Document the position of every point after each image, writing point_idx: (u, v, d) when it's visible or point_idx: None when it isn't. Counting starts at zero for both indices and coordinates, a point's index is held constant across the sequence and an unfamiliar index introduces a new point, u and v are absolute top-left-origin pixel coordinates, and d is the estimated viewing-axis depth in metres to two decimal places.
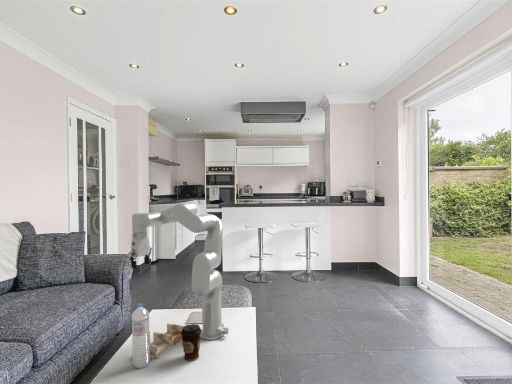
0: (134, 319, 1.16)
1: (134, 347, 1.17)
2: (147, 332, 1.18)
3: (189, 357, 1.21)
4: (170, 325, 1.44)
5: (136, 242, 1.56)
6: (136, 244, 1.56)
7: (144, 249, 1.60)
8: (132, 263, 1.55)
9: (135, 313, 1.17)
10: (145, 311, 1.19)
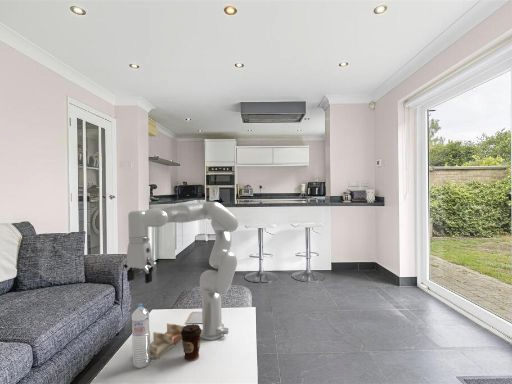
0: (134, 319, 1.16)
1: (134, 347, 1.17)
2: (147, 332, 1.18)
3: (189, 357, 1.21)
4: (170, 325, 1.44)
5: (150, 247, 1.20)
6: (150, 250, 1.20)
7: None
8: (150, 276, 1.18)
9: (135, 313, 1.17)
10: (145, 311, 1.19)
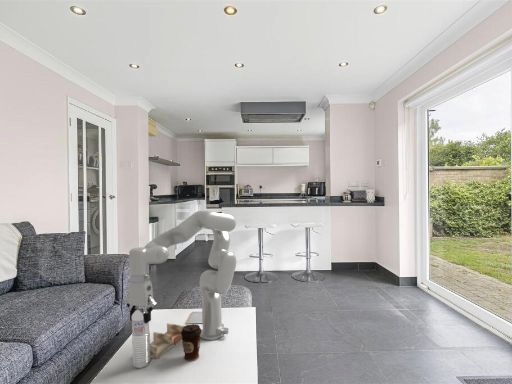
0: (134, 319, 1.17)
1: (134, 347, 1.17)
2: (147, 332, 1.18)
3: (189, 357, 1.21)
4: (170, 325, 1.44)
5: (151, 285, 1.20)
6: (151, 287, 1.20)
7: None
8: (149, 315, 1.18)
9: (135, 313, 1.17)
10: None
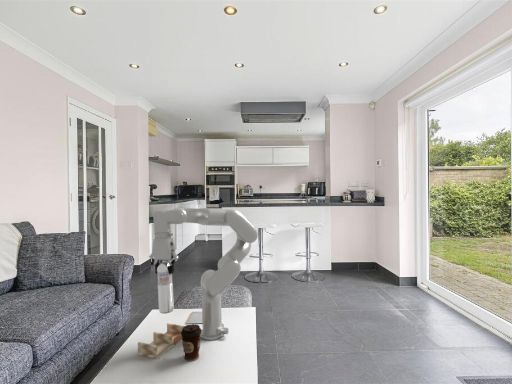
0: (159, 270, 1.33)
1: (160, 295, 1.33)
2: (171, 282, 1.35)
3: (189, 357, 1.21)
4: (170, 325, 1.44)
5: (173, 241, 1.37)
6: (173, 244, 1.37)
7: None
8: (172, 267, 1.35)
9: (160, 266, 1.34)
10: (168, 264, 1.36)
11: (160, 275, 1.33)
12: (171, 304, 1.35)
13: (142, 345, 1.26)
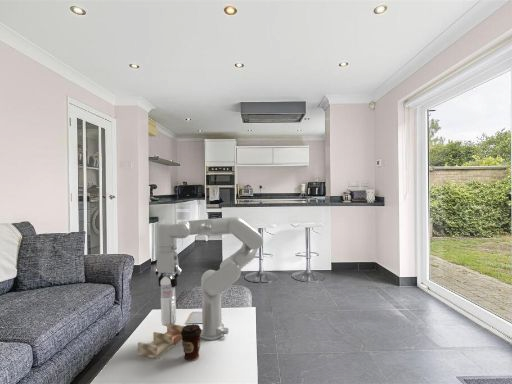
0: (163, 283, 1.36)
1: (163, 307, 1.36)
2: (173, 295, 1.38)
3: (189, 357, 1.21)
4: (170, 325, 1.44)
5: None
6: (177, 257, 1.39)
7: None
8: (175, 281, 1.38)
9: (163, 279, 1.37)
10: None
11: (163, 288, 1.36)
12: (173, 317, 1.38)
13: (142, 345, 1.26)
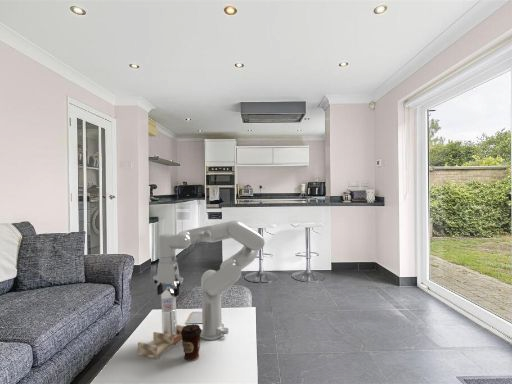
0: (163, 297, 1.36)
1: (164, 321, 1.36)
2: (174, 309, 1.38)
3: (189, 357, 1.21)
4: None
5: (177, 265, 1.39)
6: None
7: None
8: (178, 290, 1.37)
9: (164, 292, 1.37)
10: (172, 291, 1.39)
11: (164, 301, 1.36)
12: (174, 330, 1.38)
13: (142, 345, 1.26)
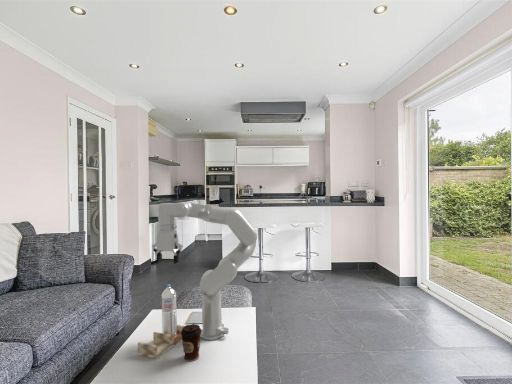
0: (164, 297, 1.36)
1: (164, 321, 1.36)
2: (174, 309, 1.38)
3: (189, 357, 1.21)
4: None
5: None
6: (177, 236, 1.43)
7: None
8: (177, 257, 1.40)
9: (165, 292, 1.37)
10: (173, 291, 1.39)
11: (164, 301, 1.36)
12: (174, 330, 1.38)
13: (142, 345, 1.26)
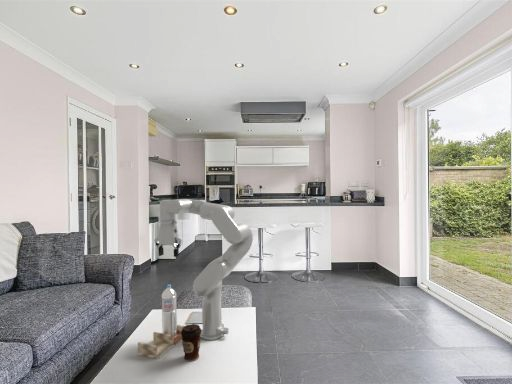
0: (164, 297, 1.36)
1: (164, 321, 1.36)
2: (174, 309, 1.38)
3: (189, 357, 1.21)
4: None
5: (177, 229, 1.51)
6: (177, 231, 1.51)
7: None
8: (177, 251, 1.49)
9: (165, 292, 1.37)
10: (173, 291, 1.39)
11: (164, 302, 1.36)
12: (174, 330, 1.38)
13: (142, 345, 1.26)
